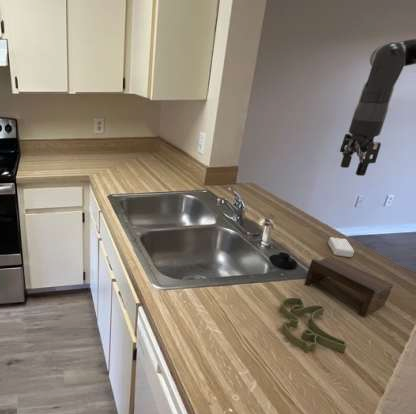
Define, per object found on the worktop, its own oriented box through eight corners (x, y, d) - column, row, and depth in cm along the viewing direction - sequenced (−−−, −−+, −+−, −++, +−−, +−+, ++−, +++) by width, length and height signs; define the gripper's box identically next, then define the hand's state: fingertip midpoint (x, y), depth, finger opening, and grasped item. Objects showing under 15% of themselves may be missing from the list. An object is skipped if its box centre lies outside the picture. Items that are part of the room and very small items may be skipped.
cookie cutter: (349, 359, 74) (352, 352, 73) (291, 350, 76) (293, 344, 75) (318, 306, 90) (320, 300, 89) (270, 300, 92) (271, 294, 91)
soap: (352, 258, 112) (355, 250, 111) (334, 255, 114) (336, 248, 112) (344, 245, 120) (347, 238, 118) (327, 243, 121) (329, 236, 120)
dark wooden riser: (324, 275, 103) (332, 251, 100) (384, 305, 90) (395, 279, 87) (304, 284, 99) (311, 259, 96) (364, 317, 86) (375, 290, 82)
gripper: (399, 122, 90) (379, 178, 97) (367, 115, 103) (351, 165, 110) (369, 121, 91) (351, 177, 98) (341, 114, 104) (327, 164, 111)
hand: (351, 171), depth 104 cm, fingers open, 8 cm apart
